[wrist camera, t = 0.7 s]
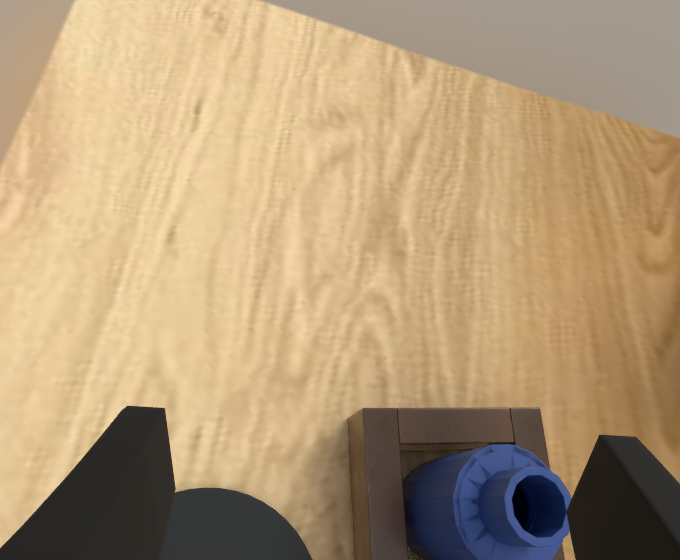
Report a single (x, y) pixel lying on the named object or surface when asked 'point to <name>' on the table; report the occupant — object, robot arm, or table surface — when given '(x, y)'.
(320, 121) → the table surface
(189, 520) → the coaster
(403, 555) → the bottle rack
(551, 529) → the blue bottle
